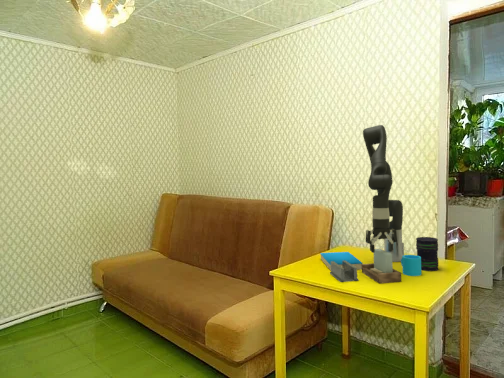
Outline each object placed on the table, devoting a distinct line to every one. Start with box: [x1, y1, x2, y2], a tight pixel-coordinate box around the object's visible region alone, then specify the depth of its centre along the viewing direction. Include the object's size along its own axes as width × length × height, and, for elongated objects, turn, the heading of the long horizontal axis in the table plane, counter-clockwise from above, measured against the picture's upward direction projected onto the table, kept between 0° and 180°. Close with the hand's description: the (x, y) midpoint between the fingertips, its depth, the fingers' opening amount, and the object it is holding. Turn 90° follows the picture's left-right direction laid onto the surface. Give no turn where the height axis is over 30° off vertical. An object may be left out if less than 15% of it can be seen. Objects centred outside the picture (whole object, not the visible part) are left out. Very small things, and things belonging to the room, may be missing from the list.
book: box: [320, 251, 363, 271], centre depth 192 cm, size 17×4×25 cm
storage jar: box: [415, 236, 439, 272], centre depth 176 cm, size 10×10×15 cm
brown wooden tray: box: [361, 262, 402, 284], centre depth 166 cm, size 10×18×4 cm, turn 7°
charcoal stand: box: [329, 260, 359, 283], centre depth 168 cm, size 8×14×6 cm, turn 7°
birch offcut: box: [370, 268, 383, 274], centre depth 166 cm, size 2×7×2 cm, turn 13°
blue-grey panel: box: [373, 248, 394, 273], centre depth 166 cm, size 3×12×12 cm, turn 7°
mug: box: [400, 254, 422, 277], centre depth 171 cm, size 12×8×8 cm
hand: (381, 251), depth 166 cm, fingers open, 8 cm apart
